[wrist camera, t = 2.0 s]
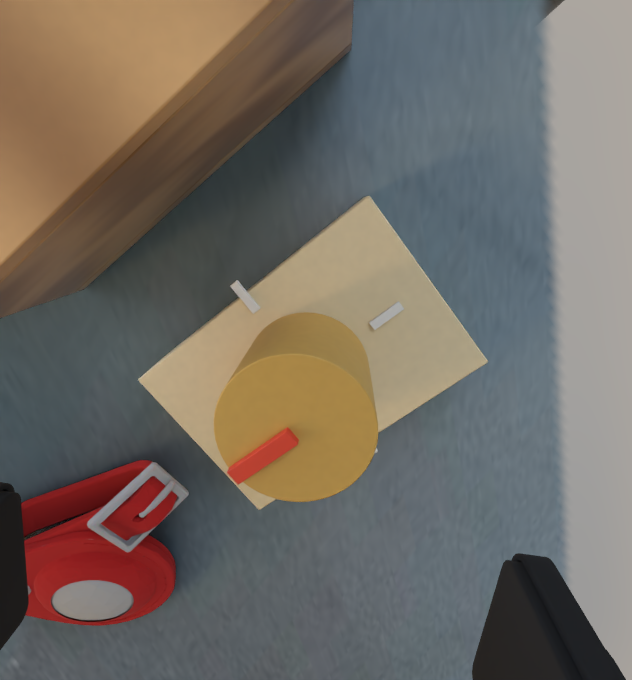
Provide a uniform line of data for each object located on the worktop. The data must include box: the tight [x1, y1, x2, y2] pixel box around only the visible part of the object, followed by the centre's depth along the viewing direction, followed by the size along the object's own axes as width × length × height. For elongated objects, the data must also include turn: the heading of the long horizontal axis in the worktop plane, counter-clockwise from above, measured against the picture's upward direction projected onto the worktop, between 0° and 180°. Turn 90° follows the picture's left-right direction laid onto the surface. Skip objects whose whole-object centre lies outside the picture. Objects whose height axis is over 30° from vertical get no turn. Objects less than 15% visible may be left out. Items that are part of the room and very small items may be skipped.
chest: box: [0, 0, 354, 318], centre depth 14 cm, size 16×13×8 cm
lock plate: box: [138, 196, 488, 510], centre depth 20 cm, size 12×9×3 cm
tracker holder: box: [21, 460, 189, 625], centre depth 23 cm, size 12×4×10 cm
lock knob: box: [214, 312, 378, 502], centre depth 16 cm, size 5×5×5 cm
